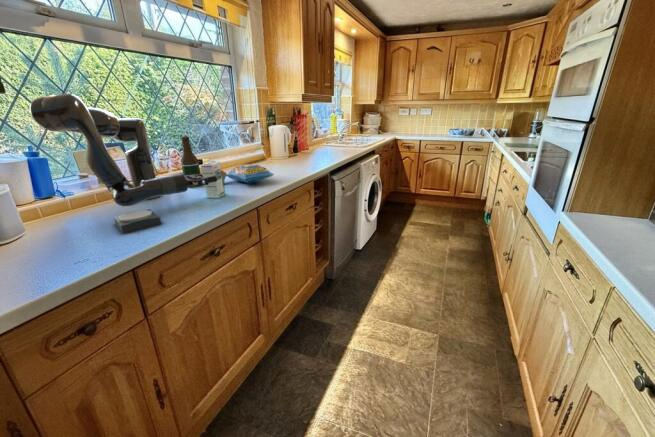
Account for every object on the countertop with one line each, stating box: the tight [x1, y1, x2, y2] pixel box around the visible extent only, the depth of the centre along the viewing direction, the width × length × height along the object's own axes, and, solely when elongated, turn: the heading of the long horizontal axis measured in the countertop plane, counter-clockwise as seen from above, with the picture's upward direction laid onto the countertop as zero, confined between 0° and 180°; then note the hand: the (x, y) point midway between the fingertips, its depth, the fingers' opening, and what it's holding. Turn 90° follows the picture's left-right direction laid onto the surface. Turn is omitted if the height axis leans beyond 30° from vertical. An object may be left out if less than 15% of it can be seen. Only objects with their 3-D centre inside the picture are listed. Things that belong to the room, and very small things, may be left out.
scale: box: [113, 208, 162, 234], centre depth 101 cm, size 12×11×3 cm
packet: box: [226, 164, 275, 185], centre depth 153 cm, size 17×24×8 cm
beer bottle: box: [180, 135, 201, 188], centre depth 147 cm, size 8×8×24 cm
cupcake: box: [211, 159, 228, 184], centre depth 151 cm, size 9×8×12 cm
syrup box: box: [200, 161, 226, 199], centre depth 129 cm, size 6×6×14 cm
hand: (212, 177), depth 128 cm, fingers open, 8 cm apart
